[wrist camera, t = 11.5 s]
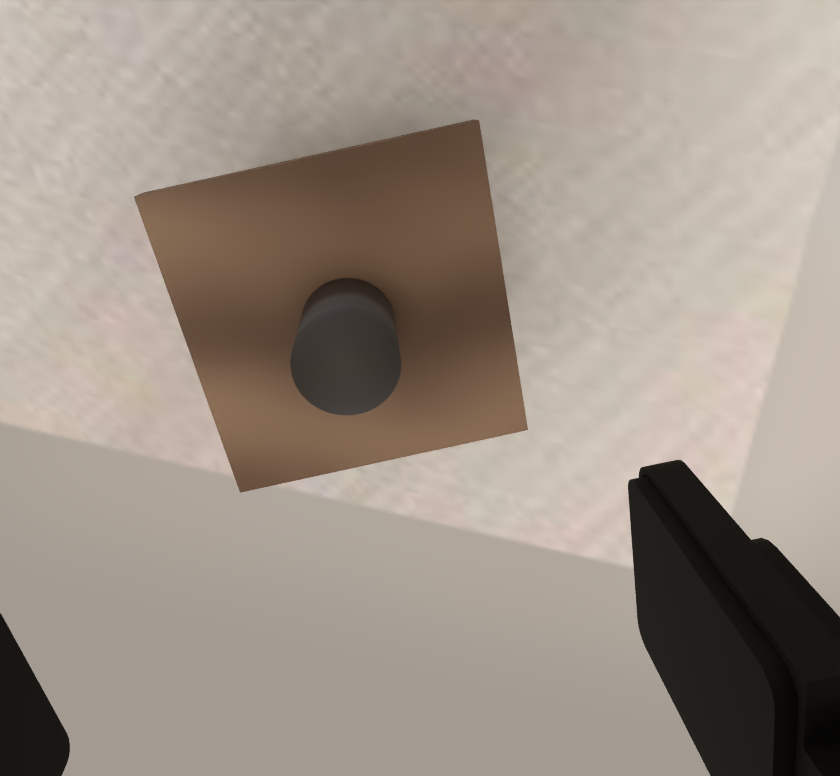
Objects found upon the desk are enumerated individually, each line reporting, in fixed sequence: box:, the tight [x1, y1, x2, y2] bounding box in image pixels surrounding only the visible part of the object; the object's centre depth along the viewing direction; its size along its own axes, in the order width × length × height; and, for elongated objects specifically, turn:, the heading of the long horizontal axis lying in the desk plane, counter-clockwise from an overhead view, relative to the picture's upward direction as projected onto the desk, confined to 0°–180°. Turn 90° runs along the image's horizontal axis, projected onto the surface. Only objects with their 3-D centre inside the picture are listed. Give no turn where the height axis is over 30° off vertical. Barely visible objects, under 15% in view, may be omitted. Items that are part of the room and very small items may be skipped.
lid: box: [134, 120, 528, 492], centre depth 22 cm, size 11×11×5 cm
